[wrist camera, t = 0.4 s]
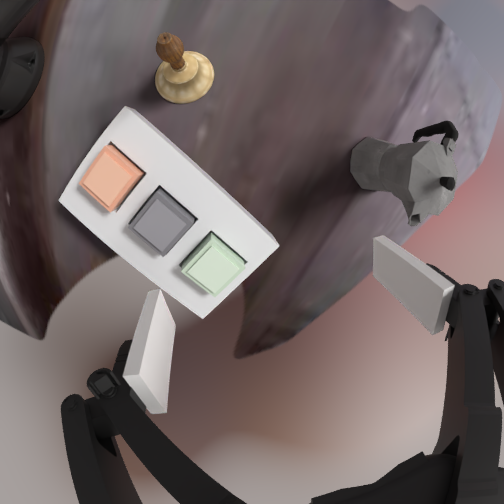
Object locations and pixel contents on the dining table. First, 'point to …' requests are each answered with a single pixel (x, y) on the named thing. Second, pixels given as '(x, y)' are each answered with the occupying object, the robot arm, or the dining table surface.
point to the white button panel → (185, 193)
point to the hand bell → (181, 71)
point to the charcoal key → (162, 222)
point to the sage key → (213, 265)
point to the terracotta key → (110, 177)
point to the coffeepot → (410, 170)
